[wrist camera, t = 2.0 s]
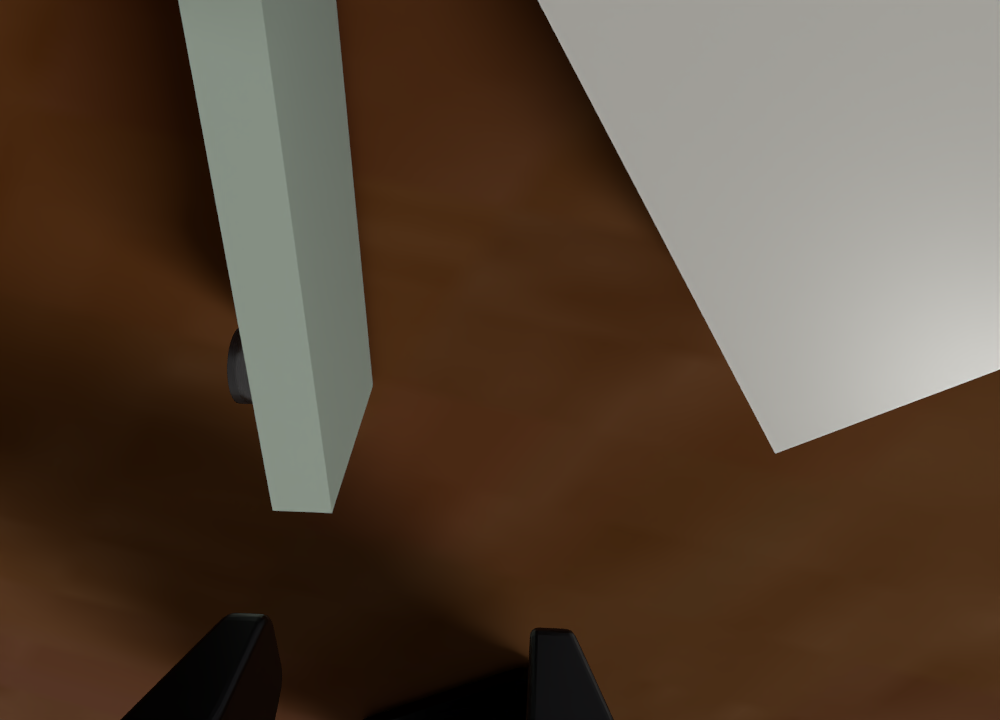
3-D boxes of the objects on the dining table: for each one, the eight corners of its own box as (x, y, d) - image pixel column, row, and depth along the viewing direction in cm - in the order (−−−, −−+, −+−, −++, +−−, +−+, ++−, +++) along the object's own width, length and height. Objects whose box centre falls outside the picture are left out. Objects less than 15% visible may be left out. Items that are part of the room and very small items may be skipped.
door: (282, 382, 22) (223, 508, 18) (137, -523, 13) (-35, -644, 9) (373, 385, 22) (331, 513, 18) (286, -526, 13) (170, -652, 9)
